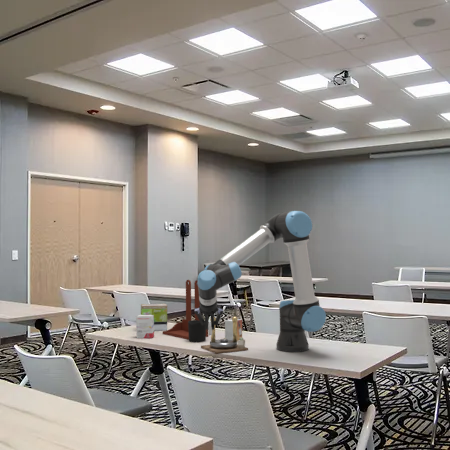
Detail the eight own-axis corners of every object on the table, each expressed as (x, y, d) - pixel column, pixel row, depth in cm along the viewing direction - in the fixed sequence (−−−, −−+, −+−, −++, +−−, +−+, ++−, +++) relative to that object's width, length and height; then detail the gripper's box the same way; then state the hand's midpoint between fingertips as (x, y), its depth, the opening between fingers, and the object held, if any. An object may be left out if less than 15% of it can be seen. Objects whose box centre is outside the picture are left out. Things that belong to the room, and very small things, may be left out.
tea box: (141, 331, 308) (141, 305, 308) (140, 329, 317) (140, 303, 318) (167, 330, 311) (167, 304, 311) (166, 327, 320) (165, 302, 321)
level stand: (248, 350, 252) (248, 337, 252) (216, 354, 244) (216, 341, 244) (231, 344, 267) (231, 332, 267) (200, 347, 259) (200, 335, 259)
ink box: (154, 336, 290) (154, 314, 290) (151, 338, 285) (151, 316, 286) (139, 336, 292) (139, 314, 292) (135, 338, 287) (135, 315, 287)
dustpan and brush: (162, 334, 299) (162, 280, 300) (181, 331, 307) (181, 278, 308) (188, 340, 281) (188, 282, 282) (208, 337, 289) (207, 280, 290)
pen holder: (204, 338, 283) (204, 319, 283) (208, 342, 274) (207, 322, 274) (186, 339, 281) (186, 320, 281) (189, 343, 272) (189, 323, 272)
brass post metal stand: (238, 343, 262) (238, 314, 263) (237, 348, 249) (237, 318, 249) (210, 343, 263) (210, 314, 263) (209, 348, 249) (208, 318, 250)
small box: (233, 342, 273) (233, 321, 274) (224, 340, 277) (224, 320, 277) (242, 339, 280) (242, 319, 280) (233, 338, 283) (233, 318, 283)
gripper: (192, 306, 227) (195, 339, 243) (223, 306, 227) (224, 339, 243) (193, 292, 233) (196, 325, 249) (223, 293, 232) (225, 326, 248)
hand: (210, 332), depth 246 cm, fingers closed
